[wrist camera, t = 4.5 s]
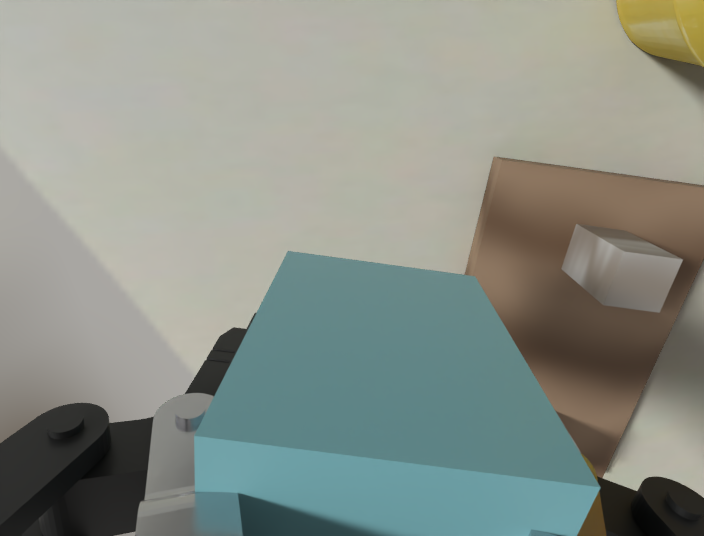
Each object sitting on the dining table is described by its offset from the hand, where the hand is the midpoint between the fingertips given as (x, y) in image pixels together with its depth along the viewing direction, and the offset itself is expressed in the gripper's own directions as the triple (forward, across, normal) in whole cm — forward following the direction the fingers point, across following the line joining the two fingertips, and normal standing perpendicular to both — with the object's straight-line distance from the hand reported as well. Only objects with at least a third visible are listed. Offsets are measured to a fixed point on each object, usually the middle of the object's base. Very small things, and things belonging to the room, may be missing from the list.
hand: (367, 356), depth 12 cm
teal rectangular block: (+1, 0, 0) cm, 1 cm away
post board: (+13, -12, +5) cm, 19 cm away
